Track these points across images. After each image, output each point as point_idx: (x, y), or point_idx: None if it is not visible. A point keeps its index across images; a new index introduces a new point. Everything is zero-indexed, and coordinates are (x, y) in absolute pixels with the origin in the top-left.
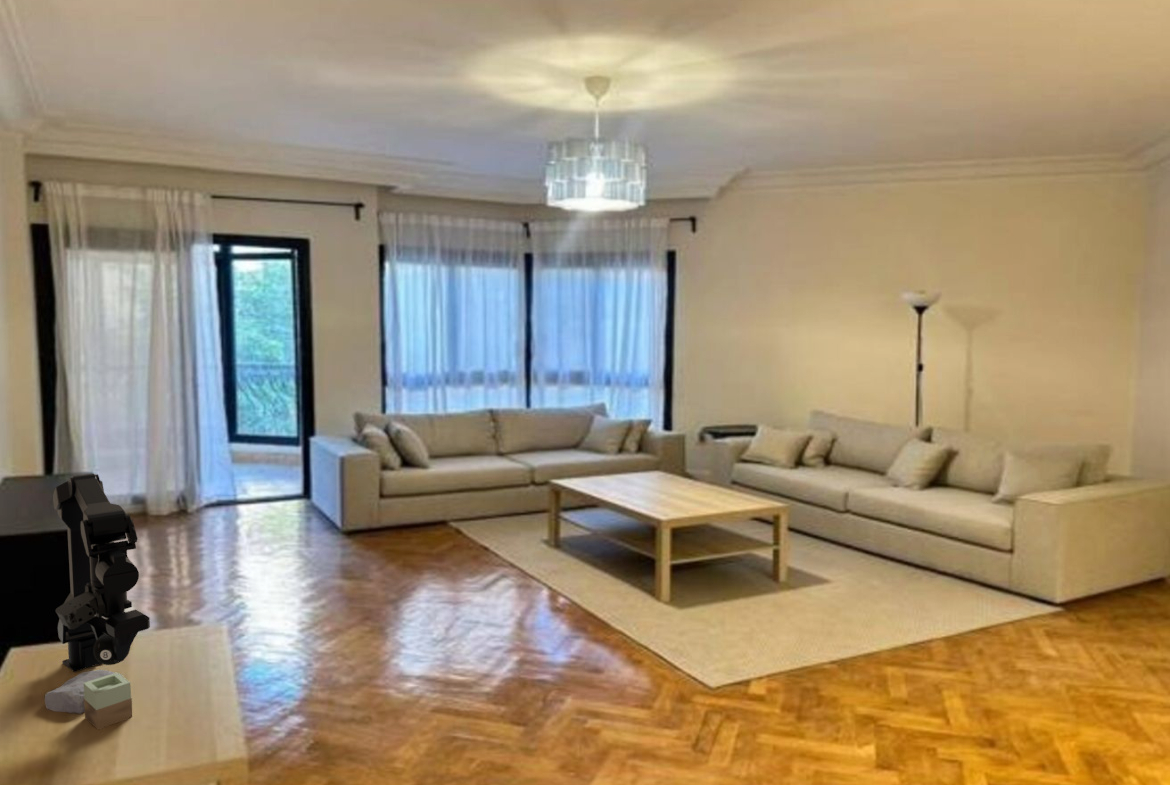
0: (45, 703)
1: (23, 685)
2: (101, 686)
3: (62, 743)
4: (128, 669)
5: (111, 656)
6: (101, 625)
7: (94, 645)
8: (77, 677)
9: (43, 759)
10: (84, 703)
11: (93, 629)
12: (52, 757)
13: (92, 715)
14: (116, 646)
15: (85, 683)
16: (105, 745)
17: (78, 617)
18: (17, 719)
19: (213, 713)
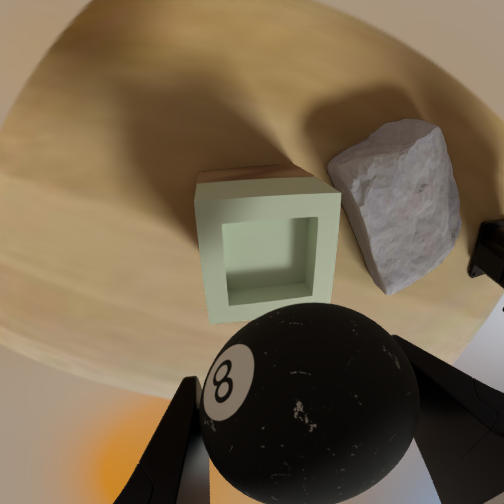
0: (418, 119)
1: (498, 140)
2: (301, 240)
3: (185, 78)
4: (423, 300)
5: (204, 390)
6: (469, 454)
7: (375, 374)
8: (454, 214)
9: (133, 30)
10: (307, 172)
11: (496, 404)
12: (126, 48)
13: (240, 173)
14: (131, 479)
15: (329, 197)
16: (97, 169)
17: None
18: (400, 54)
19: (122, 371)
